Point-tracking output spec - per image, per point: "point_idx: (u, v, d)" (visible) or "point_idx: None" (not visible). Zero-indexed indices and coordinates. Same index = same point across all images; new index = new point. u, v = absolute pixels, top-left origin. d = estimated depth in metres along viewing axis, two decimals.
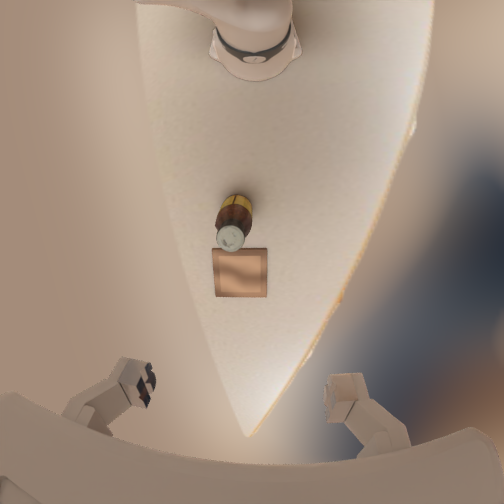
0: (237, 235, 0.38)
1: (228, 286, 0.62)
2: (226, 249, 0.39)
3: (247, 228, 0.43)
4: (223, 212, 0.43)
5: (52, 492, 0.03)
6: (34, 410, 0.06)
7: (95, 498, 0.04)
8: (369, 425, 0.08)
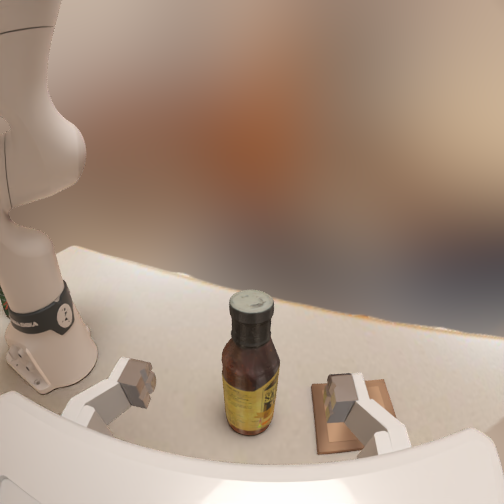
0: (246, 293, 0.25)
1: None
2: (268, 304, 0.24)
3: None
4: (226, 359, 0.25)
5: (52, 492, 0.03)
6: (34, 410, 0.06)
7: (95, 498, 0.04)
8: (369, 425, 0.08)
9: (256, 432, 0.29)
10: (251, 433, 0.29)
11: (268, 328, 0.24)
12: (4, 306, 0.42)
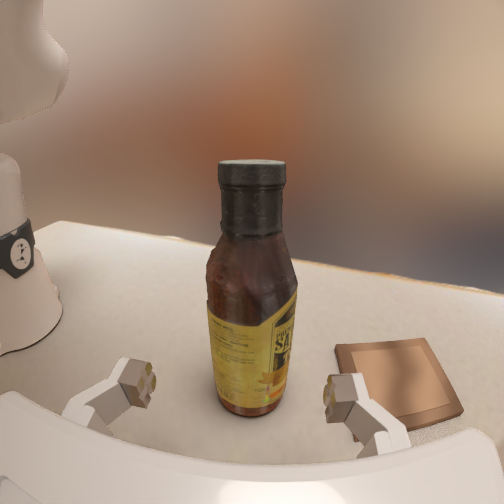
0: None
1: (433, 393, 0.19)
2: (278, 162, 0.15)
3: None
4: (211, 269, 0.16)
5: (52, 492, 0.03)
6: (34, 410, 0.06)
7: (95, 498, 0.04)
8: (369, 425, 0.08)
9: (261, 411, 0.20)
10: (254, 413, 0.20)
11: (279, 206, 0.16)
12: None
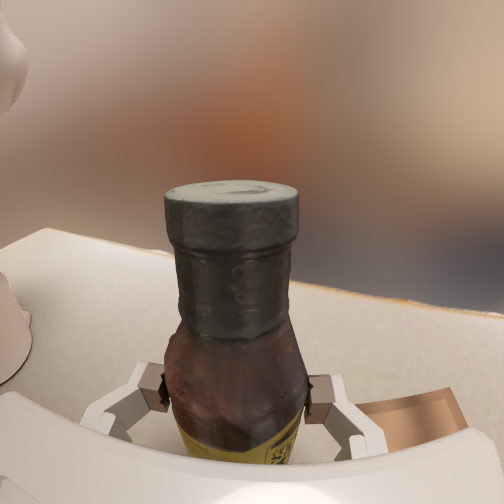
0: (220, 182, 0.09)
1: None
2: (285, 193, 0.07)
3: None
4: (168, 373, 0.09)
5: (52, 492, 0.03)
6: (34, 410, 0.06)
7: (95, 498, 0.04)
8: (346, 428, 0.08)
9: None
10: None
11: (284, 279, 0.08)
12: None
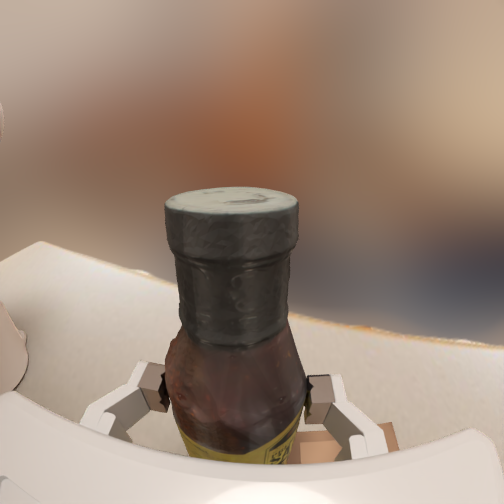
0: (220, 190, 0.09)
1: None
2: (285, 202, 0.07)
3: None
4: (169, 377, 0.09)
5: (52, 492, 0.03)
6: (34, 410, 0.06)
7: (95, 498, 0.04)
8: (346, 428, 0.08)
9: None
10: None
11: (283, 287, 0.08)
12: None
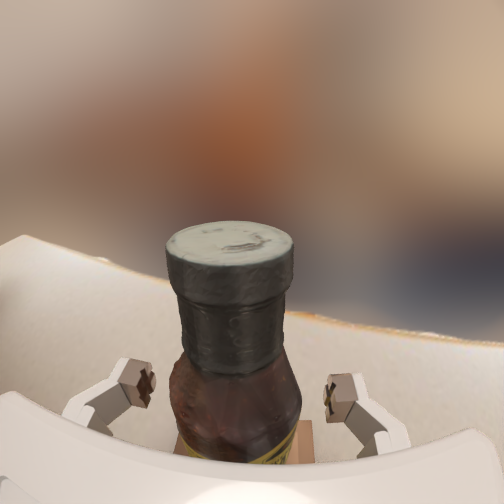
0: (219, 226, 0.09)
1: None
2: (280, 246, 0.08)
3: None
4: (173, 396, 0.10)
5: (52, 492, 0.03)
6: (34, 410, 0.06)
7: (95, 498, 0.04)
8: (369, 425, 0.08)
9: None
10: None
11: (278, 322, 0.09)
12: None
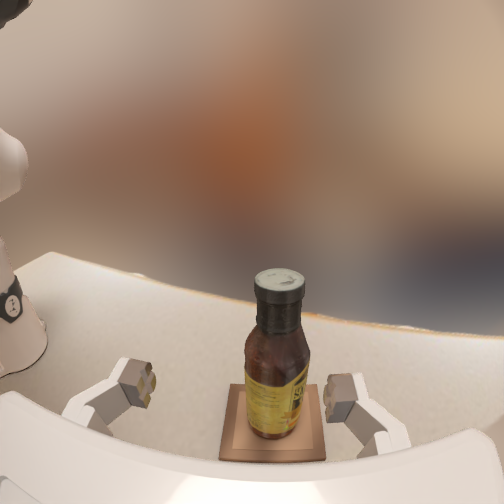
0: (273, 272, 0.22)
1: (300, 437, 0.26)
2: (300, 282, 0.21)
3: None
4: (250, 351, 0.22)
5: (52, 492, 0.03)
6: (34, 410, 0.06)
7: (95, 498, 0.04)
8: (369, 425, 0.08)
9: (282, 435, 0.25)
10: (276, 436, 0.25)
11: (299, 310, 0.21)
12: None
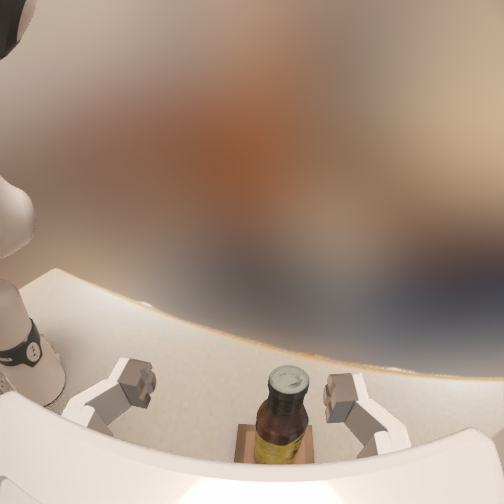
0: (284, 371, 0.25)
1: None
2: (305, 383, 0.24)
3: None
4: (262, 422, 0.25)
5: (52, 492, 0.03)
6: (34, 410, 0.06)
7: (95, 498, 0.04)
8: (369, 425, 0.08)
9: None
10: None
11: (302, 399, 0.24)
12: None
